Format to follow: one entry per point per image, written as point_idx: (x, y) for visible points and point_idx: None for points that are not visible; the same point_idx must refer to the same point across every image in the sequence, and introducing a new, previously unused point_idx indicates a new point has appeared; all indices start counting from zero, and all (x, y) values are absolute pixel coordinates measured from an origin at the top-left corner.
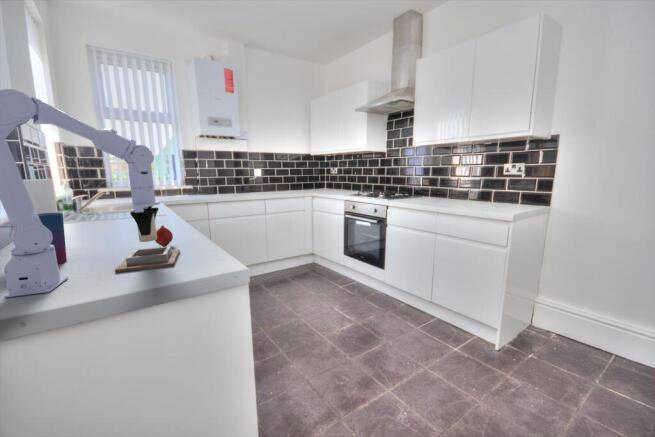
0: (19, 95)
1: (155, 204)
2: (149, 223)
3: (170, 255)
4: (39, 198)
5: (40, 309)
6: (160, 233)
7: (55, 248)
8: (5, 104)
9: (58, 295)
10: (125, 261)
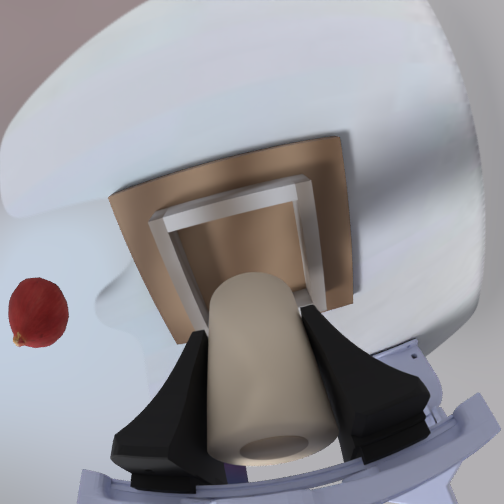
0: None
1: (319, 494)
2: (354, 347)
3: (212, 191)
4: None
5: (473, 296)
6: (48, 326)
7: None
8: None
9: (436, 314)
10: None
